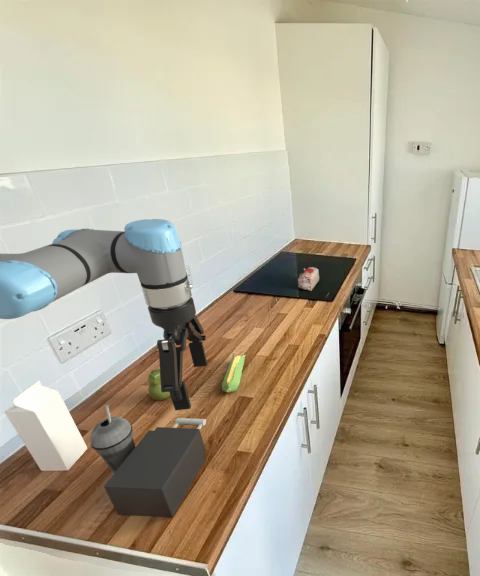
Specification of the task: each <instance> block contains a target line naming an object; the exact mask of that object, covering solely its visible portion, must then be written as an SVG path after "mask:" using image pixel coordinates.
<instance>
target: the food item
mask: <svg viewBox="0 0 480 576" xmlns="http://www.w3.org/2000/svg"><path fill="white" fill-rule="evenodd" d="M319 271H320V270H319V269H318V268H317V267H314V266H308V267H307V268H305V267H304V268H303V272H300V274H299V277H298V278H297V285H298V286H297V287H298V288H299V289H301V290H303V291H309V292H312V291H313V290H314V288H315V287H316V285H318V283H319V281H320V272H319Z"/></svg>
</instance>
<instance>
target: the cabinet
mask: <svg viewBox="0 0 480 576" xmlns="http://www.w3.org/2000/svg"><path fill="white" fill-rule="evenodd" d="M205 460H206V458H205V453H203V450H202V446H201V443H200V439H199V436H198V432H176V431H154V430H151V429H148V431H147V432H146V433H145V434H144V435H143V437H142V438H141V439H140V440H139V442H138V443H137V444H136V445H135V448H134V449H133V451H132V452H131V453H130V454H129V456H128V457H127V458H126V459H125V461H124V462H123V463H122V464H121V466H120V467H119V468H118V469H117V471H116V472H115V473H114V474H113V473H112V475H111V477H110V478H109V480H107V482H106V483H105V484H104V485H103V489H104V491H105V492H106V494H107V496H108V498H109V500H110V502H111V504H112V506H113V508H114V510H115V511H116V513H117V515H118V516H135V517H136V516H137V517H157V518H159V517H160V518H163V517H164V518H173V517H174V516H175V514H176V512H177V511H178V509H179V507H180V505H181V504H182V502H183V500H184V498H185V496H186V495H187V493H188V491H189V489H190V487H191V486H192V483H193V482H194V480H195V478H196V477H197V475H198V473H199V471H200V469H201V468H202V466H203V464H204V462H205Z"/></svg>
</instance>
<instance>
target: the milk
mask: <svg viewBox="0 0 480 576" xmlns="http://www.w3.org/2000/svg"><path fill="white" fill-rule="evenodd" d="M12 403H13V404H12V405H11V406H9V407H8V408H7V409H6V410H4V414H5V416H6V417H7V419H8V420H9V422H10V424H11V425H12V426H13V428H14V429H15V432H16V433H17V434H18V437H19V438H20V440H21V441H22V442H23V444H24V446H25V448H26V449H27V451H28V452H29V453H30V456H31V457H32V458H33V460H34V462H35V463H36V465H37V466H38V468H39V470H40V471H41V472H56V471H57V472H62V471H63V472H64V471H65V472H67V471H69V470H70V469H71V468H72V467H73V466H74V465H75V464H76V462H78V460H79V459H80V458H81V456H83V454H84V453H85V452H86V451H87V450H88V447H87V444H86V442H85V440H84V438H83V436H82V434H81V432H80V430H79V429H78V427H77V425H76V423H75V420H74V418H73V417H72V414H71V413H70V411H69V409H68V407H67V405H66V403H65V401H64V399H63V397H62V395H61V393H60V391H59V390H56V389H53V388H50V387H48V386H44V385H42V383H41V381H40V380H37V381H36V382H34V383H33V384H32V385H29V387H28V388H27V389H25V390H24V391H23V392H21V393H20V394H18V395H17V396H15V398H13V399H12Z"/></svg>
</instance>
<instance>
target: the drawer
mask: <svg viewBox="0 0 480 576" xmlns="http://www.w3.org/2000/svg"><path fill="white" fill-rule="evenodd" d="M206 424H207V419H206V418H193V417H192V418H191V417H190V418H189V417H177V418H176V419H175V423H174V425H173V426H172V427H167V426H166V427H164V426H163V427H162V426H157V427H155V429H154V430H153V431H176V432H198V436H199V439H200V443H201V446H202V450H203V453H204V454H205V453H206V446H205V443H204V440H203V436H202V433H201V432H202V431H201V429H202V428H203V427H204V426H206ZM178 426H196V428H189V427H187V428H186V427H185V428H184V427H178Z"/></svg>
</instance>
